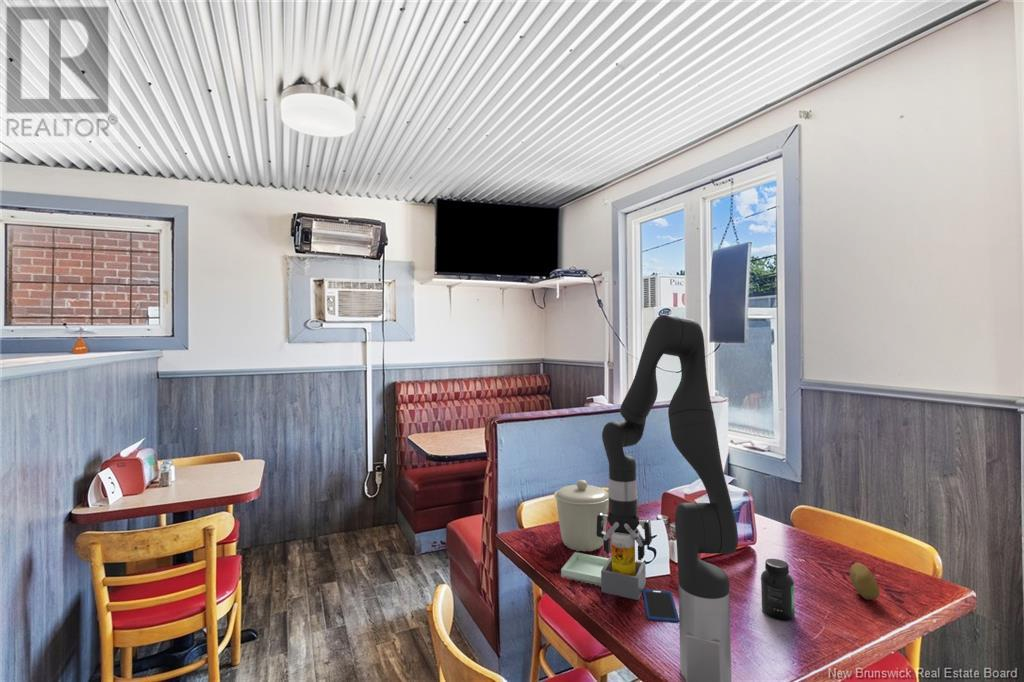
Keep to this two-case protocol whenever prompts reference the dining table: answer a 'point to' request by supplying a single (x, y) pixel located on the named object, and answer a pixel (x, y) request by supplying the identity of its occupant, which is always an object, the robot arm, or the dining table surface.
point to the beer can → (623, 553)
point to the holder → (623, 581)
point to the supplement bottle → (777, 590)
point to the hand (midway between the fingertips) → (624, 556)
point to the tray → (584, 568)
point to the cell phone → (660, 606)
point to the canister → (581, 515)
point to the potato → (864, 581)
